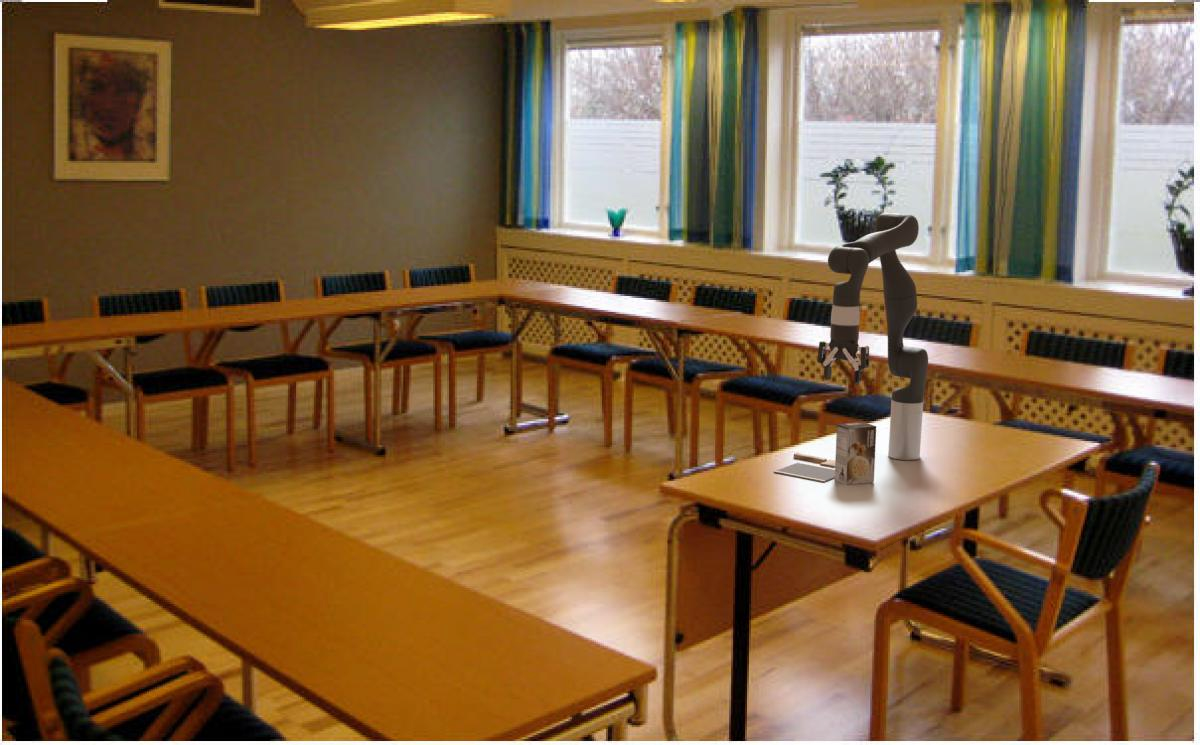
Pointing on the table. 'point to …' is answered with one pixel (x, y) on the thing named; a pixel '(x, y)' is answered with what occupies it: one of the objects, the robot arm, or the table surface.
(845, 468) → the coffee box
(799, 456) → the walnut turner
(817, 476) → the mat
